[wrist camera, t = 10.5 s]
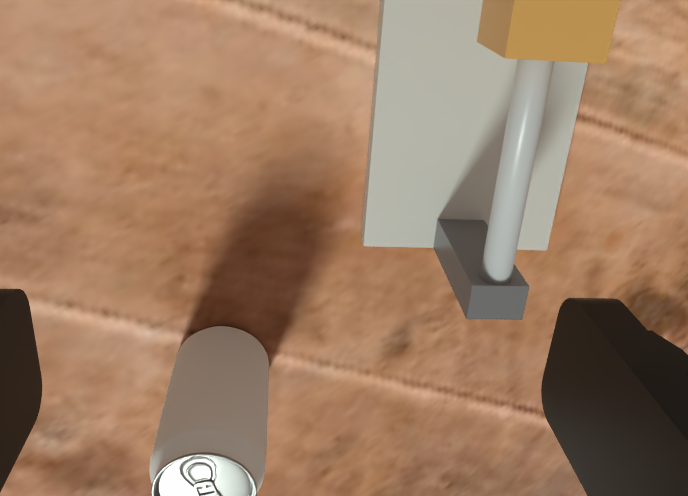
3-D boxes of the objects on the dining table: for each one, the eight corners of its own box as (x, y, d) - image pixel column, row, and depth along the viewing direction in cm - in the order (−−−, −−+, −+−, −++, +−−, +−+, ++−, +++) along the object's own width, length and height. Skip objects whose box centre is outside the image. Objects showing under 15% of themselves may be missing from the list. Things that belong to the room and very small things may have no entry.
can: (256, 313, 45) (247, 436, 34) (279, 387, 47) (277, 522, 37) (163, 333, 45) (125, 462, 34) (192, 406, 48) (165, 546, 37)
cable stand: (360, 235, 43) (383, 326, 33) (402, -257, 31) (454, -339, 22) (538, 240, 44) (610, 329, 34) (640, -233, 33) (790, -300, 23)
